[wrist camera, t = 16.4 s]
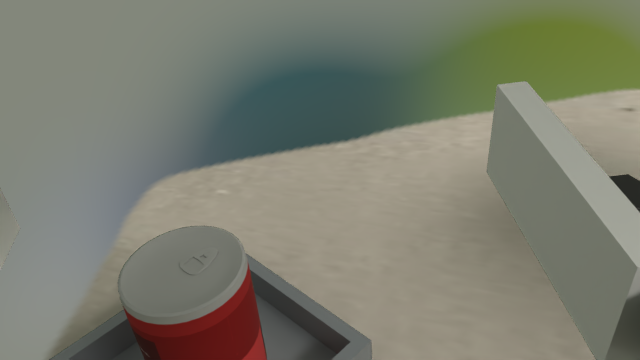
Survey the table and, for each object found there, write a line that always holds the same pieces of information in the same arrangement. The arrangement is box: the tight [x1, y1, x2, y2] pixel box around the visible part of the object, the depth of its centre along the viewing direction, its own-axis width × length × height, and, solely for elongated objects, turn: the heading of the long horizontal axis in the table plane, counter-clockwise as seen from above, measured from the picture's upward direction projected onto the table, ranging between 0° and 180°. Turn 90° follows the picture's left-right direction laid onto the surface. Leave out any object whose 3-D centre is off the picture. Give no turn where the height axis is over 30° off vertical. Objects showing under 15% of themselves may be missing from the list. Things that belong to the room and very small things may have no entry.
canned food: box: [118, 226, 267, 360], centre depth 39 cm, size 8×8×11 cm
